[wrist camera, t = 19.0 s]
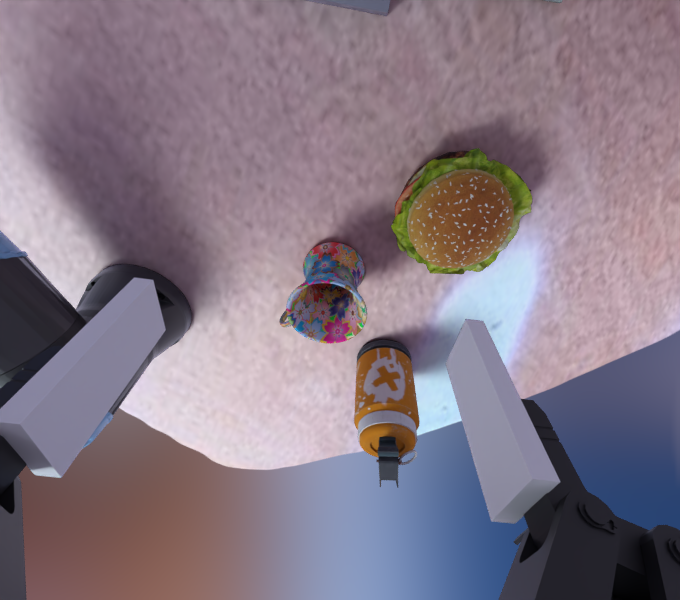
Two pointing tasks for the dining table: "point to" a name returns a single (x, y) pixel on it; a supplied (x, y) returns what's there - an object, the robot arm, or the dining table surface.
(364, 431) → the canister
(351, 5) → the plate
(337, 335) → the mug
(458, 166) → the food
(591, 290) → the dining table surface
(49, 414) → the robot arm
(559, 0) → the rest pad
